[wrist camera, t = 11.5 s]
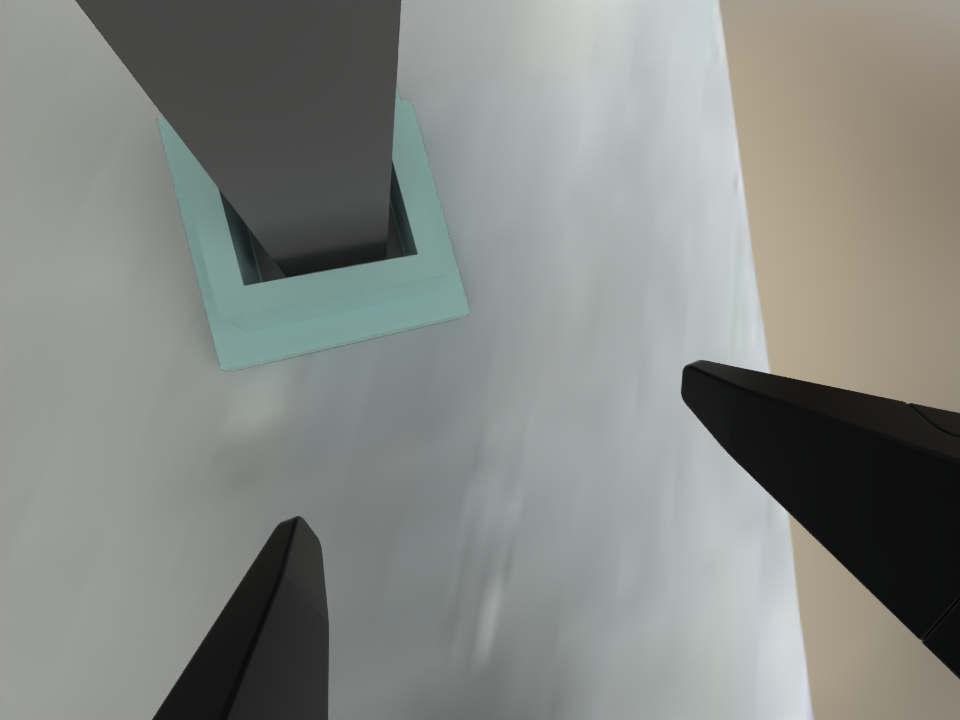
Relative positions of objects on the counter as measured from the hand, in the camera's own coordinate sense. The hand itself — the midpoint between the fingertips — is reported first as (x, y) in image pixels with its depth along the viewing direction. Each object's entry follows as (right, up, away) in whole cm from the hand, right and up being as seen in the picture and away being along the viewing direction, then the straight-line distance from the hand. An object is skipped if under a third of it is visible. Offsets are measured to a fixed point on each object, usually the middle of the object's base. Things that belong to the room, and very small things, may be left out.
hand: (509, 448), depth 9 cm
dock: (-8, +8, +10) cm, 15 cm away
